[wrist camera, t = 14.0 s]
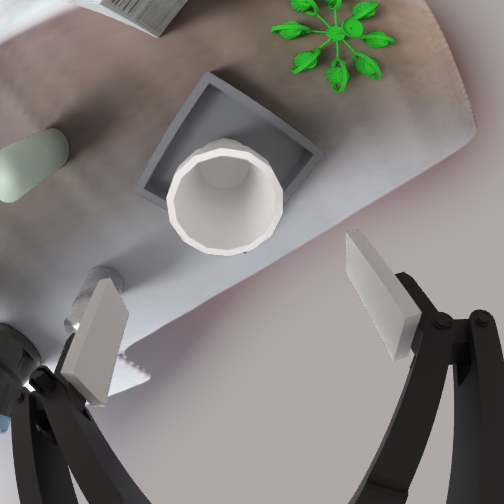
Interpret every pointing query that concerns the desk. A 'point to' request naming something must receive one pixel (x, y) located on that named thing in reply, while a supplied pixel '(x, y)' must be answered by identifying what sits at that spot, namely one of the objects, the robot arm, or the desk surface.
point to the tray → (231, 127)
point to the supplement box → (137, 12)
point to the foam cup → (225, 199)
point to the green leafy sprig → (336, 40)
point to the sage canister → (31, 162)
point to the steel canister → (90, 295)
